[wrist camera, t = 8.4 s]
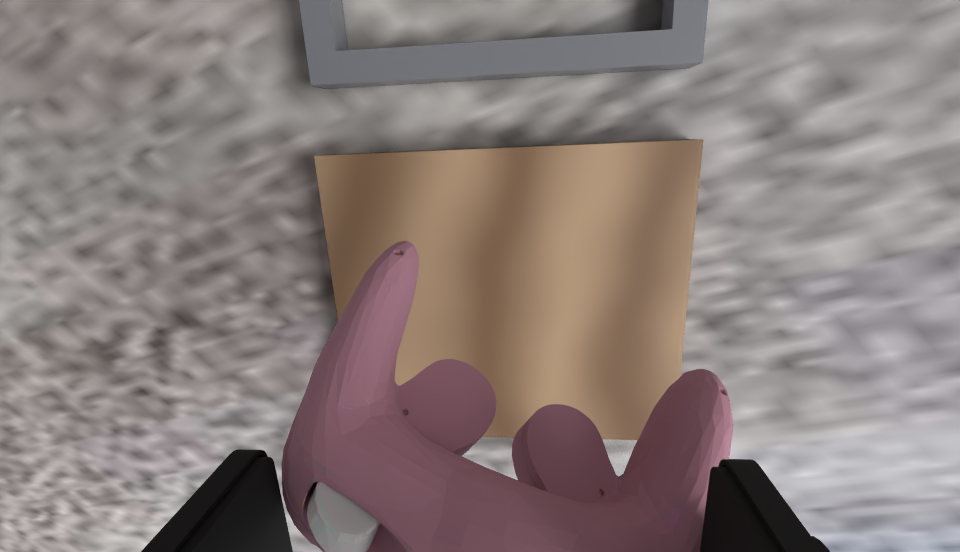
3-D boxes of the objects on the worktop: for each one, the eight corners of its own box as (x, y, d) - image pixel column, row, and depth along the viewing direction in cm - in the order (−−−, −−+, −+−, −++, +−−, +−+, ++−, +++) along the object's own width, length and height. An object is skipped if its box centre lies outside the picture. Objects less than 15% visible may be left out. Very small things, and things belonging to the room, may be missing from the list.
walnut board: (689, 139, 19) (703, 139, 18) (664, 421, 23) (673, 440, 22) (328, 154, 21) (314, 156, 19) (364, 417, 25) (354, 434, 23)
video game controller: (363, 318, 14) (219, 565, 9) (386, 212, 11) (184, 505, 6) (643, 435, 15) (646, 728, 10) (745, 367, 12) (824, 753, 7)
